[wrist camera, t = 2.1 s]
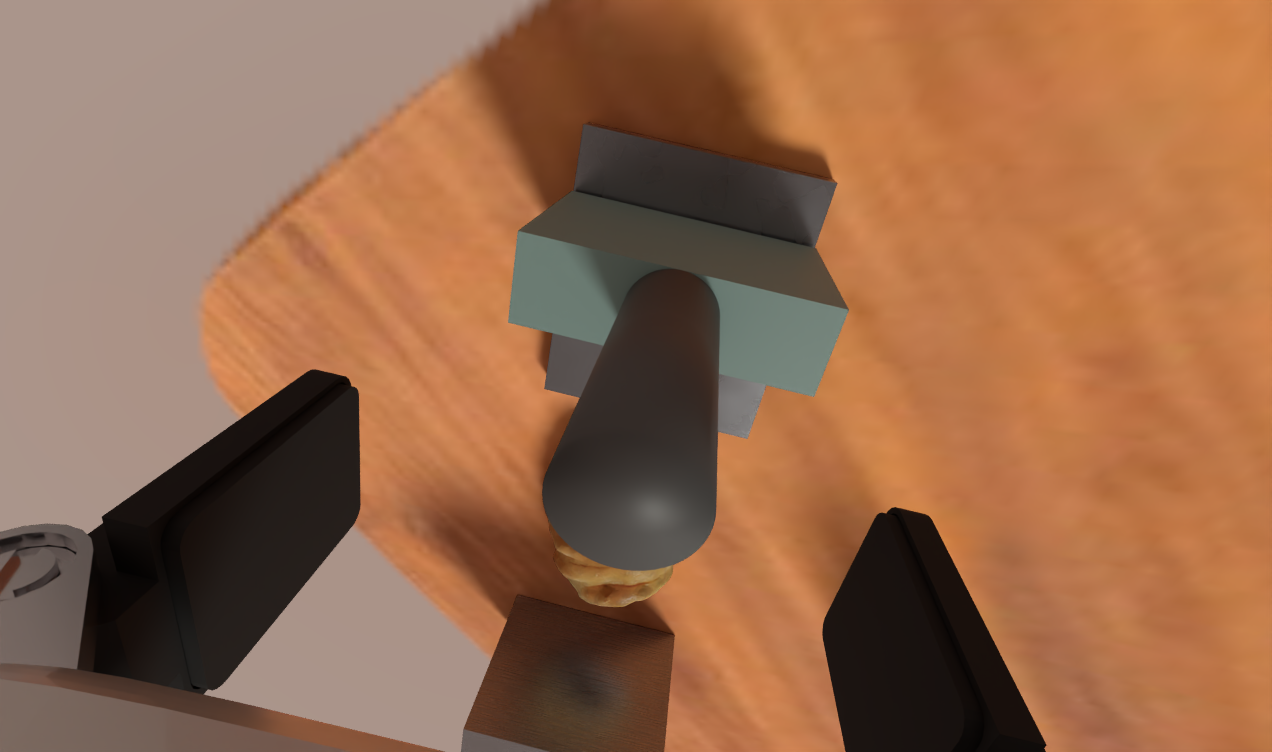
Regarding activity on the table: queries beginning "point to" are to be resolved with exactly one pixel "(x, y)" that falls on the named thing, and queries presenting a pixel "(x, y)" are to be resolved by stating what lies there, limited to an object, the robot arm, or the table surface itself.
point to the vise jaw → (661, 361)
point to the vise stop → (572, 685)
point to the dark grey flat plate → (700, 193)
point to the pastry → (605, 577)
